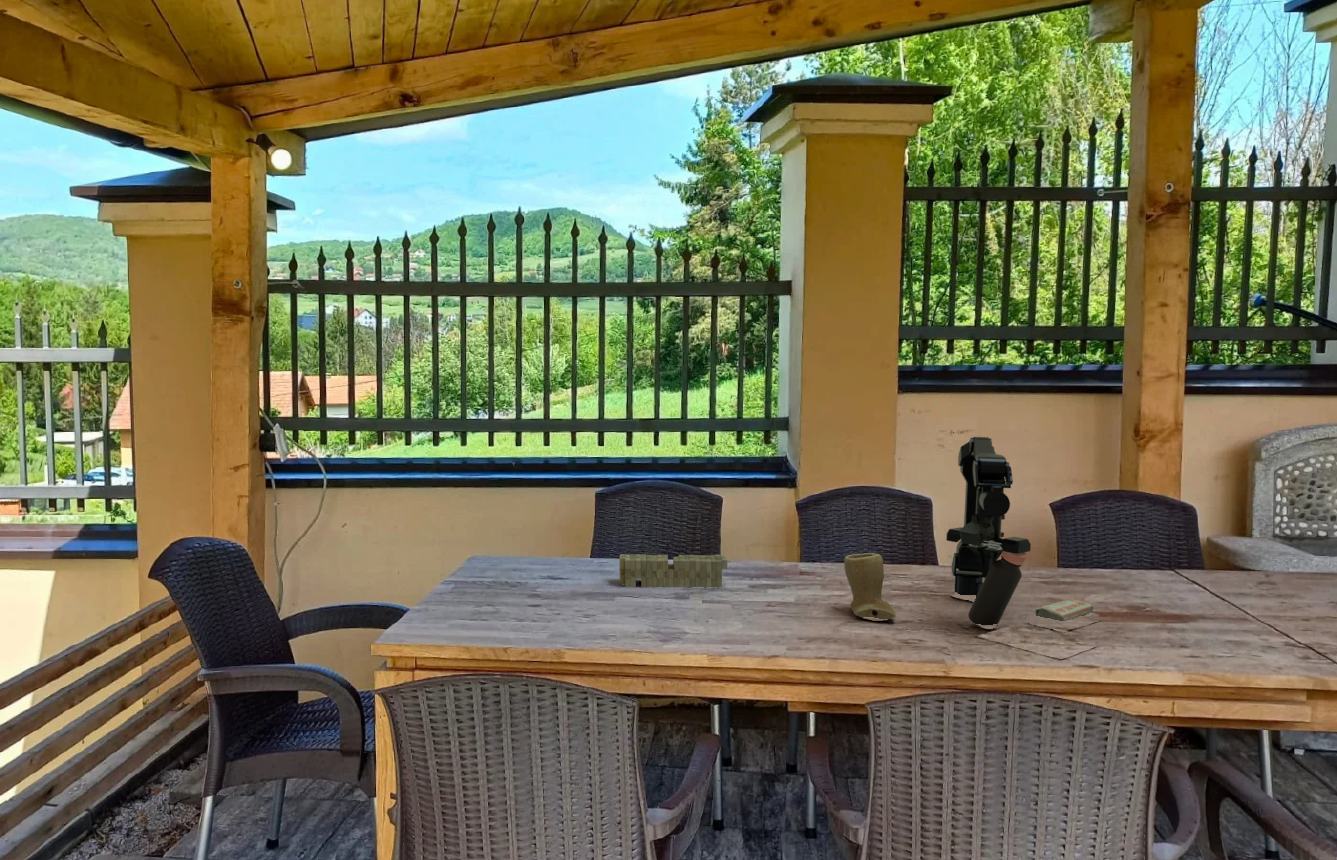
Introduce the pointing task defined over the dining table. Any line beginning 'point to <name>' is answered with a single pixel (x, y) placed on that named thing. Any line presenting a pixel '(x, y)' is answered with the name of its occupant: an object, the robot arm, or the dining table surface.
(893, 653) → the dining table surface
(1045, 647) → the dining table surface
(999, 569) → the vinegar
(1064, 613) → the packaged product
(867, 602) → the olive green boot
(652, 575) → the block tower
